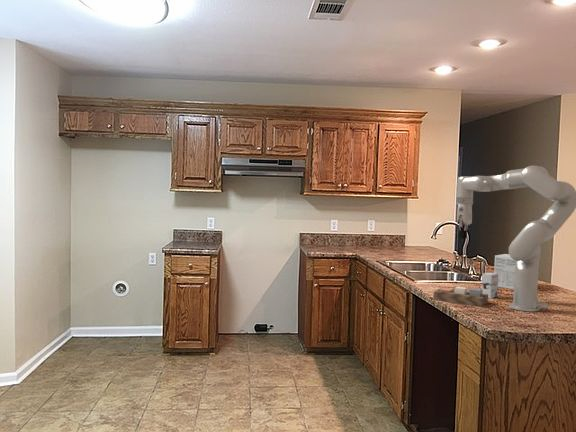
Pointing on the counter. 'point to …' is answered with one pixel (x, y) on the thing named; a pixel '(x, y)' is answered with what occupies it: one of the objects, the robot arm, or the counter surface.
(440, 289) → the key terracotta
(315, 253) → the counter surface
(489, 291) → the ink box
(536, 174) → the robot arm
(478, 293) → the key slate
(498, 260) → the supplement box
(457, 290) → the key ivory
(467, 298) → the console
